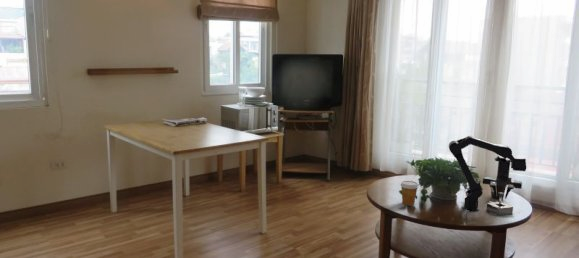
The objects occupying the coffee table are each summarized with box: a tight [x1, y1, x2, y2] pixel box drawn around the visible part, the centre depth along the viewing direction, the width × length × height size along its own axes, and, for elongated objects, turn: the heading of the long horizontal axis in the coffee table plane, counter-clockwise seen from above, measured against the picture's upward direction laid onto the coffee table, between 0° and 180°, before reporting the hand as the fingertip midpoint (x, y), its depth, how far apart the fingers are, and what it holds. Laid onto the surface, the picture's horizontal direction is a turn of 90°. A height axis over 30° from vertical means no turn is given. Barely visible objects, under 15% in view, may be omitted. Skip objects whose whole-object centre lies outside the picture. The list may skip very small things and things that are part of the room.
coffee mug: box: [488, 183, 507, 201], centre depth 278 cm, size 12×9×10 cm
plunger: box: [498, 192, 505, 206], centre depth 251 cm, size 3×3×7 cm
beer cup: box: [400, 180, 419, 207], centre depth 262 cm, size 10×10×12 cm
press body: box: [485, 200, 514, 217], centre depth 253 cm, size 9×12×4 cm
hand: (500, 198), depth 251 cm, fingers open, 4 cm apart
